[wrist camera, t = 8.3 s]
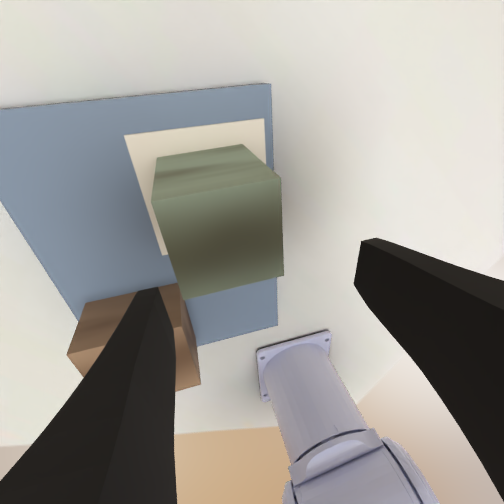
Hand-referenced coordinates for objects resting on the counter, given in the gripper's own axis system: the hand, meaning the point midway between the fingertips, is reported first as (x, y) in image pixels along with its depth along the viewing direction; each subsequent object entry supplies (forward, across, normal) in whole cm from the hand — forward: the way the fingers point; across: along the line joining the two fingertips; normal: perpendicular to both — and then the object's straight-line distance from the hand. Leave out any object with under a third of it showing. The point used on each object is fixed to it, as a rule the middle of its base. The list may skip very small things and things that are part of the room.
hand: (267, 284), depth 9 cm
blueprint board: (+9, +4, +3) cm, 11 cm away
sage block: (+8, +1, -1) cm, 8 cm away
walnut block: (+8, +7, +8) cm, 14 cm away
